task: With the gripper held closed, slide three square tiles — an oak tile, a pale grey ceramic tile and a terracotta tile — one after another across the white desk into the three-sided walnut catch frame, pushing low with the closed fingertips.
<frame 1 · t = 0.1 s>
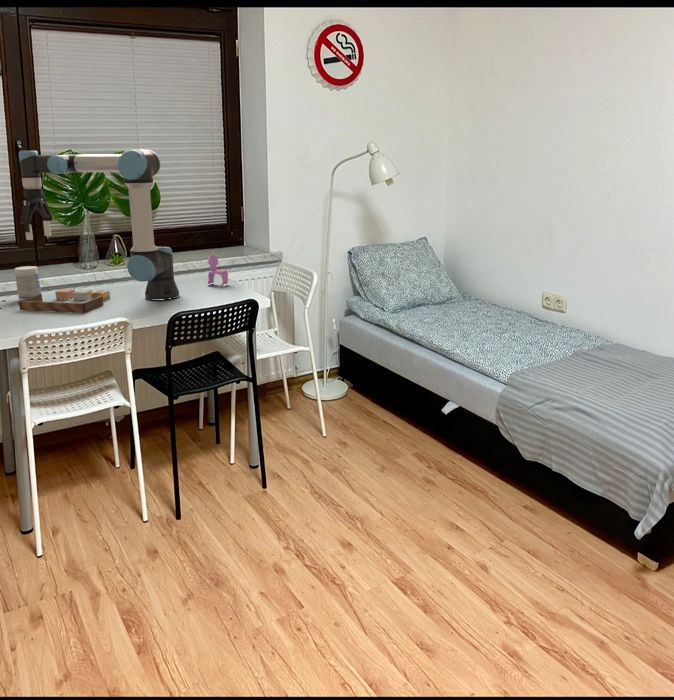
hand: (39, 237, 303), 28 cm above the table, tool pointing down, fingers open, 13 cm apart
terracotta tile: (66, 299, 314), on the table
oak tile: (100, 300, 311), on the table
supplement tub: (30, 300, 311), on the table
toy chair: (217, 286, 339), on the table
grey tile: (83, 299, 312), on the table
catch frame: (62, 307, 296), on the table
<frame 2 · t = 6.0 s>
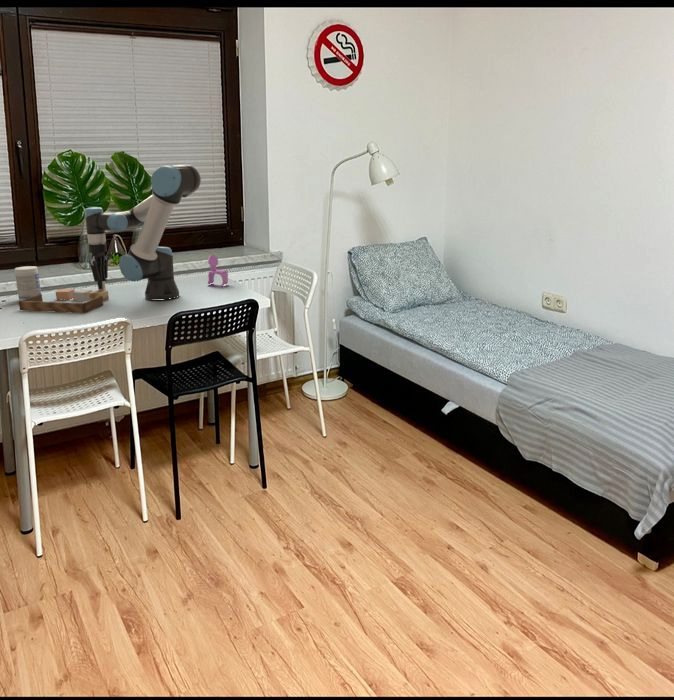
hand: (102, 295, 312), 1 cm above the table, tool pointing down, fingers closed
oak tile: (99, 300, 309), on the table
everything else where it was.
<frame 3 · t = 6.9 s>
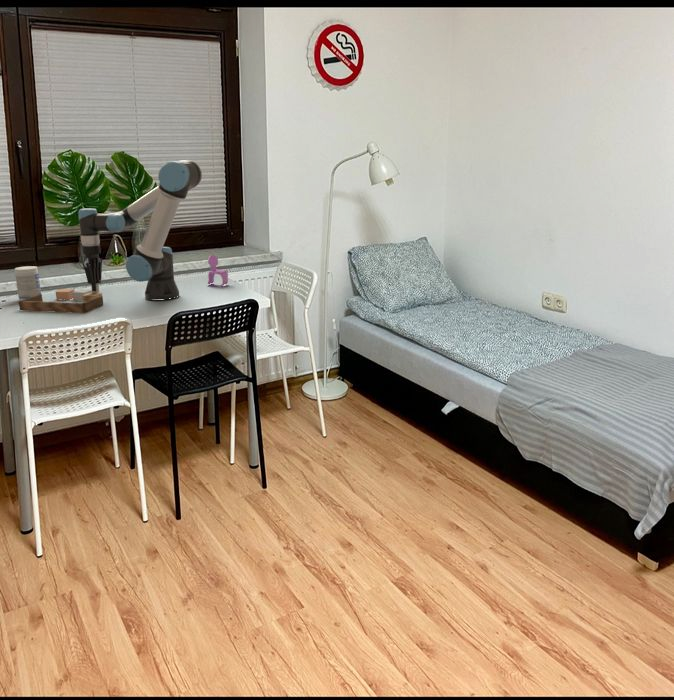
hand: (96, 297, 307), 2 cm above the table, tool pointing down, fingers closed
oak tile: (93, 303, 304), on the table, touching gripper
everything else where it was.
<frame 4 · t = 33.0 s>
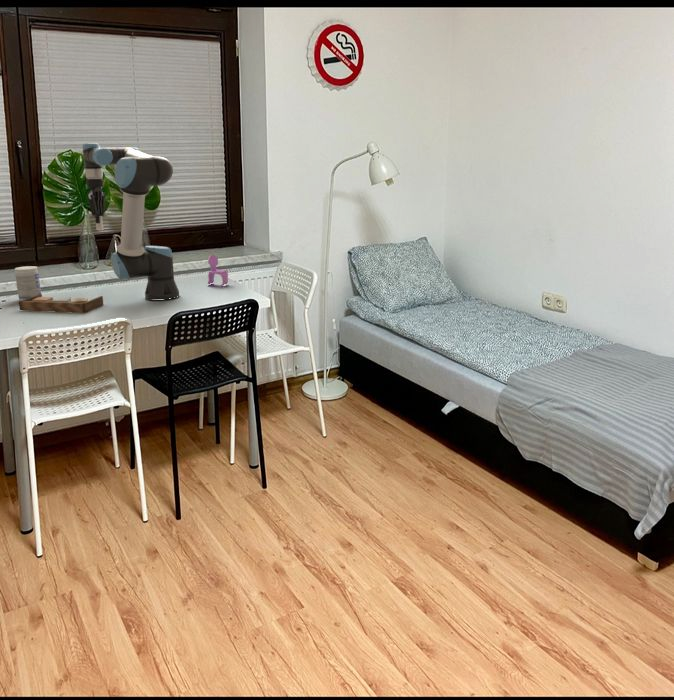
hand: (100, 230, 324), 28 cm above the table, tool pointing down, fingers closed
terracotta tile: (43, 307, 298), on the table
oak tile: (80, 308, 295), on the table
grey tile: (62, 308, 296), on the table
everything else where it was.
at the end: oak tile inside the target area on the catch frame (0.5 cm from its centre), point 0.0 cm above the catch frame's base; grey tile inside the target area on the catch frame (0.6 cm from its centre), point 0.0 cm above the catch frame's base; terracotta tile inside the target area on the catch frame (0.6 cm from its centre), point 0.0 cm above the catch frame's base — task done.
